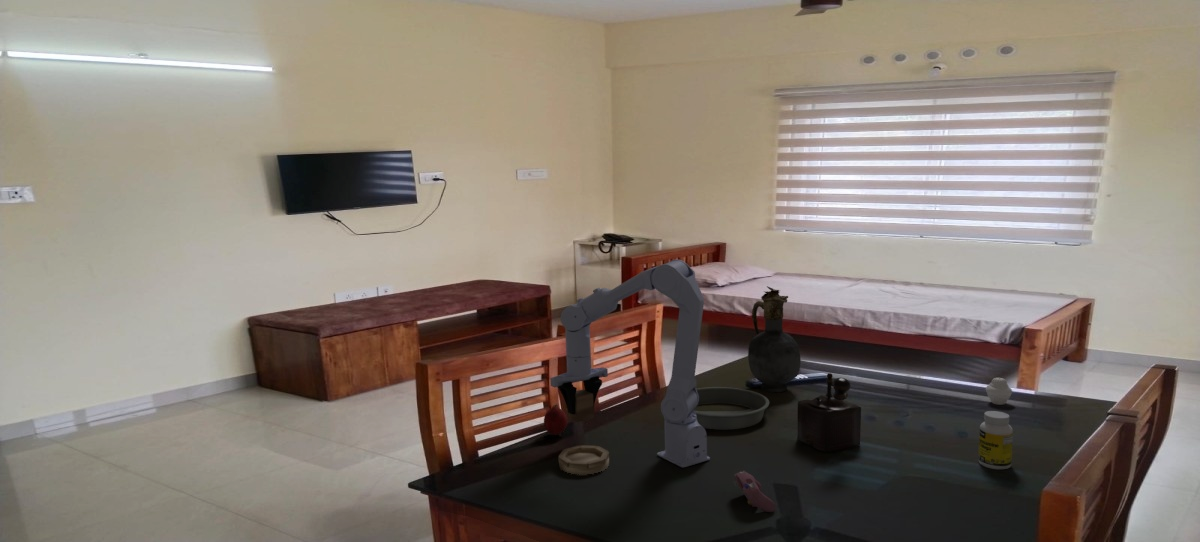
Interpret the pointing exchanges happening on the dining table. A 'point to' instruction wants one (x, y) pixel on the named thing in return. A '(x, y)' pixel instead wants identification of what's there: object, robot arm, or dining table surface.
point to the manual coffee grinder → (830, 419)
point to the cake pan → (730, 418)
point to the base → (584, 460)
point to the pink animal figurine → (753, 492)
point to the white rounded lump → (998, 391)
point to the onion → (555, 420)
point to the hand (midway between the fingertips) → (580, 411)
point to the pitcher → (773, 346)
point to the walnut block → (583, 406)
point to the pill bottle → (995, 441)
